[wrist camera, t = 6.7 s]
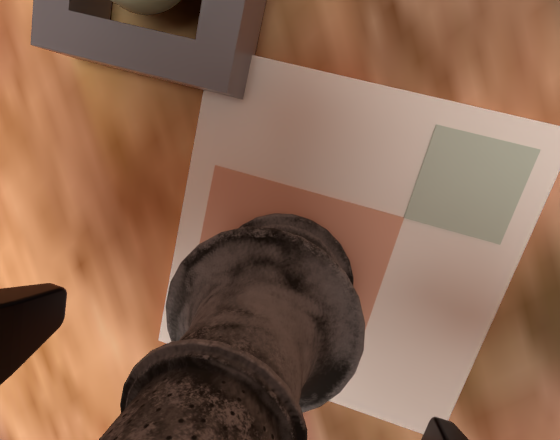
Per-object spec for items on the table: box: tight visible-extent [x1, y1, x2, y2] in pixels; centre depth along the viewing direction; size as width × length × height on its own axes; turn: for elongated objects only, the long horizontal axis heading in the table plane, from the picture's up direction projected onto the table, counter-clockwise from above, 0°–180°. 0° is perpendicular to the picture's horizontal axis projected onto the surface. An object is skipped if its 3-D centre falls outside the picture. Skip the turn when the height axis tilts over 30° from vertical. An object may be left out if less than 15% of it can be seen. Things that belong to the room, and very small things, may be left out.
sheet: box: [158, 55, 560, 434], centre depth 13 cm, size 12×12×1 cm
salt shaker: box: [99, 213, 365, 440], centre depth 8 cm, size 6×6×12 cm
